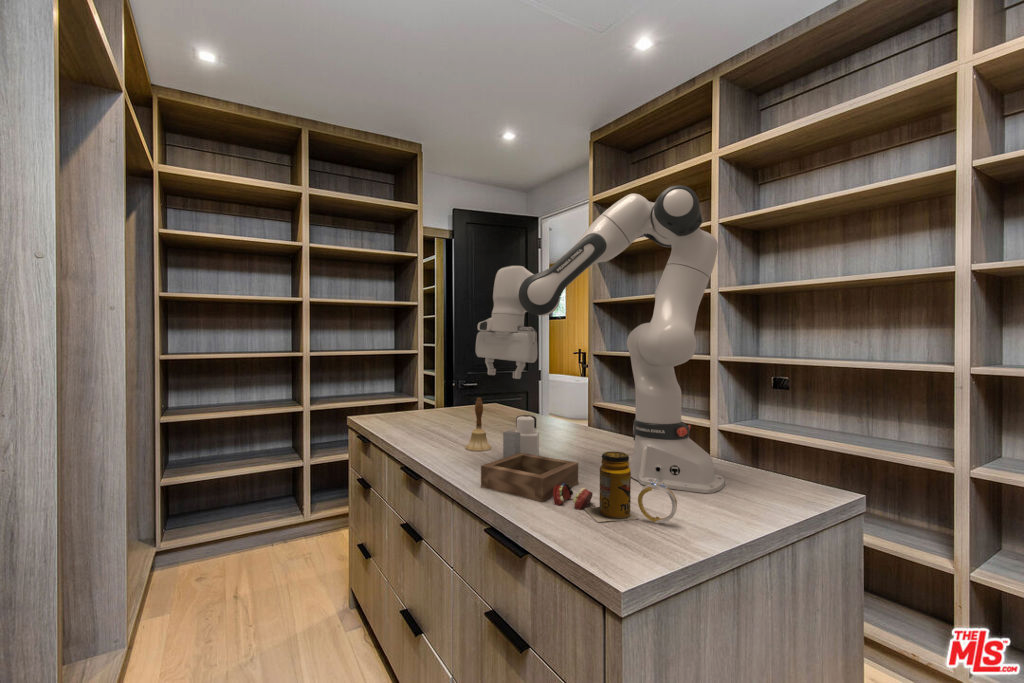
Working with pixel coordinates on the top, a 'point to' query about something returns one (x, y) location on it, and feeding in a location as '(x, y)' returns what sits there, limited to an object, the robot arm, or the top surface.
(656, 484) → the bracelet
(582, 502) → the dentures model
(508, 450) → the stepped grey peg
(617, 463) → the condiment
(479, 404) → the hand bell
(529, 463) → the open wooden box
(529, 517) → the top surface
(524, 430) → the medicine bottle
